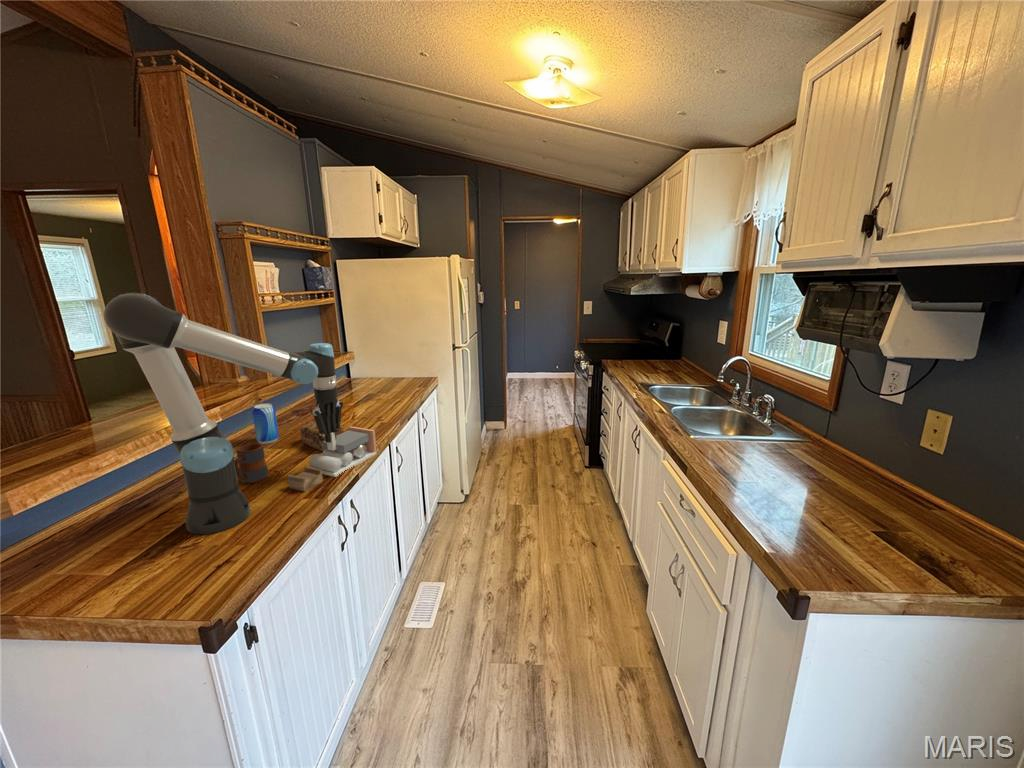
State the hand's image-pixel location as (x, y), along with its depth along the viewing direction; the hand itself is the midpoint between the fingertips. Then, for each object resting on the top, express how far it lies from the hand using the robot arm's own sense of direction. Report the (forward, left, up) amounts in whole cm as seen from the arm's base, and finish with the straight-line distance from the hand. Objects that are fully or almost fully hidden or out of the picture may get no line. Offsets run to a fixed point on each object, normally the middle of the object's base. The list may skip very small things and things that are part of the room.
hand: (332, 449), depth 149 cm
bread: (+16, +21, -8) cm, 28 cm away
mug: (-18, +19, -8) cm, 28 cm away
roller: (+10, 0, -4) cm, 10 cm away
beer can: (+10, +46, -8) cm, 48 cm away
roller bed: (+6, 0, -7) cm, 9 cm away
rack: (-13, -1, -7) cm, 15 cm away
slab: (+7, 0, -1) cm, 7 cm away
